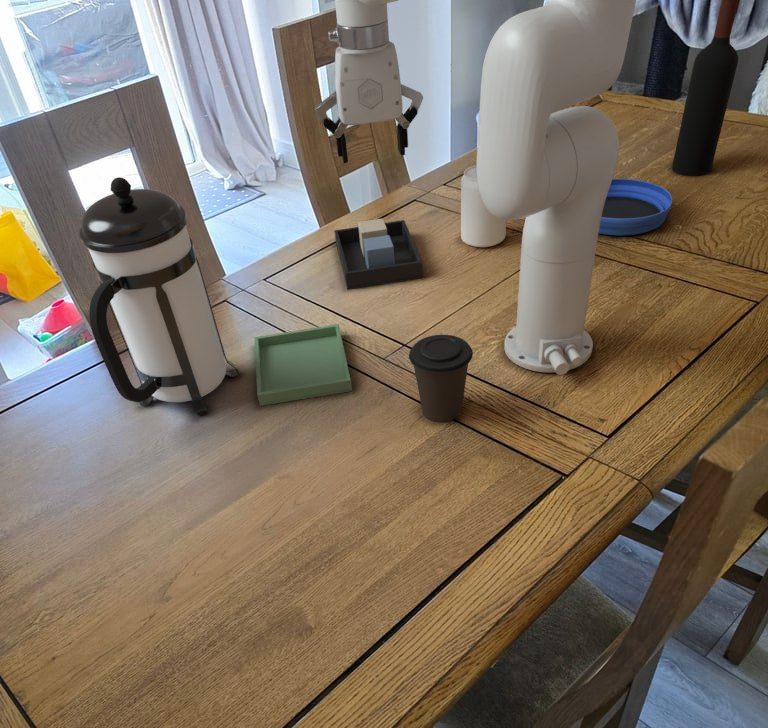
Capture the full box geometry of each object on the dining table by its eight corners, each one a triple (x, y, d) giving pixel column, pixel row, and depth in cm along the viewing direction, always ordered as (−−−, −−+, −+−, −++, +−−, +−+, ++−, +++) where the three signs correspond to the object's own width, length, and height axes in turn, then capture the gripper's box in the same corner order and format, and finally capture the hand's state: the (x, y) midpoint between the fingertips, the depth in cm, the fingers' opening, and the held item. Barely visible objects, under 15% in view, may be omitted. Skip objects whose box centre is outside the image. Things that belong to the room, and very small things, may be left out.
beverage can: (504, 229, 130) (508, 161, 121) (505, 249, 124) (509, 179, 116) (461, 230, 131) (461, 163, 122) (460, 250, 125) (460, 181, 117)
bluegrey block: (395, 271, 121) (393, 246, 118) (369, 275, 121) (366, 250, 117) (391, 259, 124) (389, 234, 121) (365, 263, 124) (363, 238, 121)
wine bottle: (671, 175, 140) (709, -7, 119) (672, 161, 145) (709, -17, 124) (711, 176, 138) (758, -9, 117) (710, 162, 143) (755, -18, 122)
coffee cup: (477, 394, 96) (478, 331, 89) (466, 432, 90) (466, 367, 83) (420, 388, 98) (416, 326, 91) (405, 425, 92) (401, 361, 85)
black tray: (422, 277, 120) (422, 261, 117) (347, 289, 119) (345, 273, 117) (405, 235, 131) (404, 219, 129) (336, 245, 131) (334, 230, 129)
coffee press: (126, 377, 106) (40, 172, 84) (229, 350, 109) (171, 145, 87) (140, 445, 94) (44, 227, 72) (254, 412, 97) (195, 193, 75)
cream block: (388, 253, 126) (387, 228, 122) (363, 257, 126) (361, 232, 122) (384, 242, 129) (382, 218, 126) (360, 246, 129) (357, 221, 125)
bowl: (680, 235, 123) (685, 215, 120) (577, 242, 124) (579, 222, 121) (655, 193, 135) (658, 174, 133) (561, 200, 136) (563, 181, 134)
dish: (352, 391, 99) (350, 380, 97) (260, 406, 98) (257, 395, 97) (340, 334, 109) (338, 323, 108) (256, 347, 108) (254, 337, 107)
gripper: (308, 49, 101) (324, 171, 113) (425, 34, 102) (428, 157, 114) (304, 37, 106) (320, 155, 119) (415, 22, 107) (419, 141, 119)
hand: (373, 156), depth 116 cm, fingers open, 9 cm apart
